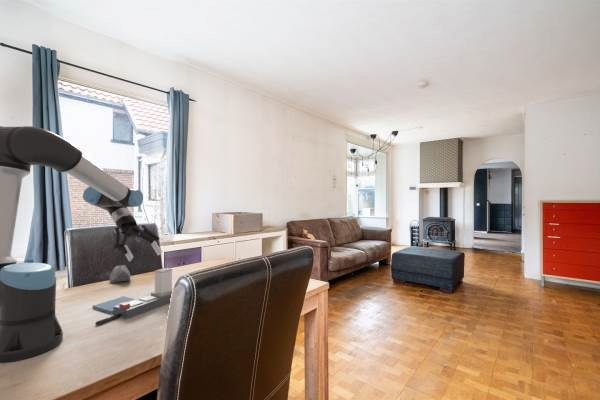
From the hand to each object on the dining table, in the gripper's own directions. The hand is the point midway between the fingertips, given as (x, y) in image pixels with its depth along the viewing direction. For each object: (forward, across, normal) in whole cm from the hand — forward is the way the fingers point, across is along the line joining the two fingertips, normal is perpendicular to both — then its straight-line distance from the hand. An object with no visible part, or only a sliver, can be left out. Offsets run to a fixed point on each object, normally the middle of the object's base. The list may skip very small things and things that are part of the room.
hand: (146, 256), depth 125 cm
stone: (-10, -10, -35) cm, 38 cm away
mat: (+12, +12, -12) cm, 21 cm away
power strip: (+20, +10, -5) cm, 23 cm away
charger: (+18, 0, -2) cm, 18 cm away
